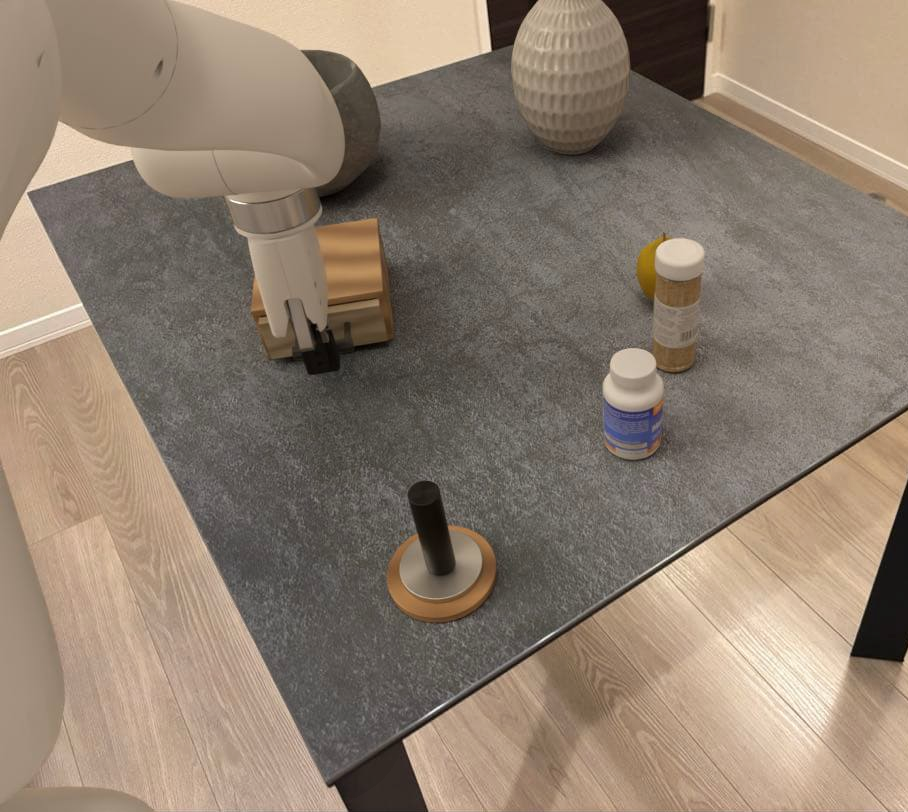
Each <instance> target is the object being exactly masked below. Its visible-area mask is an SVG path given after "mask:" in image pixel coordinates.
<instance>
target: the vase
mask: <svg viewBox="0 0 908 812" xmlns="http://www.w3.org/2000/svg"><path fill="white" fill-rule="evenodd" d="M510 62H511V63H510V64H511V65H510V76H511V86H512V92H513V95H514V98H515V103H516V106H517V108H518V110H519V113H520V116H521V117H522V119H523V121H524V123H526V125H527V127H529V129H530V130H531V132H532V133H533V134H534V135H535V137H537V139H538V140H539V141H540V142H542V144H544V145H545V146H547V148H549V149H550V150H551V151H552V152H555V153H557V154H561V155H565V156H576V155H582V154H586V153H589V152H590V151H592V150H594V149H595V148H596V147H597V146H598V145H599V144H600V143H601V142H602V141H603V140H604V139H605V138H606V137H607V136H608V135H609V133H610V132H611V131H612V130H613V128H614V127H615V125H616V124H617V122H618V120H619V118H620V117H621V114H622V113H623V110H624V108H625V104H626V102H627V98H628V95H629V90H630V84H631V59H630V49H629V45H628V42H627V38H626V36H625V33H624V31H623V28H622V26H621V24H620V22H619V20H618V18H617V17H616V15H615V14H614V12H613V11H612V10H611V9H610V8H609V6H608V5H607V4H606V3H605V2H604V1H603V0H537V1H536V3H535V4H534V5H533V6H532V8H531V9H530V10H529V11H528V12H527V14H526V16H525V17H524V19H523V20H522V22H521V24H520V26H519V29H518V31H517V34H516V36H515V40H514V43H513V48H512V55H511V61H510Z"/></svg>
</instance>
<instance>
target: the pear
mask: <svg viewBox="0 0 908 812" xmlns="http://www.w3.org/2000/svg"><path fill="white" fill-rule="evenodd" d="M666 236H667V234H666V232H665V231H663V232H662V237H659V238H658V237H657V238H656V239H655V240H653V241H651V242H650V243H648V244H647V245H645V246H644V247H643V248H642V249H641V250H640V252H639V254H638V256H637V259H636V278H637V282H638V284H639V287H640V289H641V291H642V292H643V293H644V294H645V295H646V297H647V298H648V299H649V300H650V301H652V302H654V295H655V289H656V269H655V254H656V249H657V247H658V246H659V245H660V244H661V243H663V242H665V241H667V240H670V239H674V238H673V237H666Z"/></svg>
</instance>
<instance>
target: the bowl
mask: <svg viewBox="0 0 908 812" xmlns="http://www.w3.org/2000/svg"><path fill="white" fill-rule="evenodd" d="M299 50H300V51H301V52H302V53H303V54H304V55H305V56H306V57H307V59H308V60H309V61H310V62H311V64H312V65H313V66H314V68H315V69H316V71H317V72H318V74H319V75H320V76H321V78H322V79H323V81H324V83H325V84H326V86H327V87H328V89H329V91H330V93H331V95H332V97H333V99H334V101H335V104H336V106H337V108H338V111H339V114H340V117H341V120H342V124H343V130H344V136H345V152H344V158H343V162H342V165H341V168H340V170H339V172H338V173H337V175H336V176H335V177H334V178H333V179H332V180H331V181H330V182H328V183H326V184H324V185H321V186H318V187H316V188H317V192H318V195H319V198H322V197H326V196H329V195H333V194H336V193H339V192H340V191H342V190H344V189H346V188H347V187H348V186H349V185H350V184H351V183H353V182H354V181H355V180H356V179H357V178H358V177H359V176H360V175H361V174H362V173H364V172H365V171H366V170H367V168H368V167H369V165H370V164H371V162H372V160H373V158H374V156H375V154H376V152H377V149H378V146H379V142H380V137H381V131H382V122H381V121H382V120H381V114H380V110H379V105H378V101H377V98H376V96H375V93H374V90H373V88H372V85H371V83H370V82H369V80H368V78H367V77H366V75H365V74H364V72H363V71H362V69H361V68H360V67H359V66H358V64H357V63H355V62H354V61H353V60H352V59H351V58H350V57H348V56H346V55H345V54H342V53H339V52H334V51H329V50H324V49H299Z"/></svg>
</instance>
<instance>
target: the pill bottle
mask: <svg viewBox="0 0 908 812" xmlns="http://www.w3.org/2000/svg"><path fill="white" fill-rule="evenodd" d="M664 389H665V387H664V382H663V379H662V377H661V376H660V375H659V373H658V369H657V366H656V360H655V358H654V356H653V355H652V352H649V351H648V350H645V349H643V348H639V347H638V348H637V347H628V348H624V349H621V350H619V351H617V352H616V353H614V354H613V356H612V357H611V358H610V362H609V372H608V374H607V375H606V376H605V378H604V380H603V382H602V409H603V411H602V412H603V441H604V445H605V447H606V448H607V450H608V451H609V452H610V453H612V454H613V455H614V456H616V457H618V458H621V459H624V460H630V461H631V460H632V461H635V460H636V461H637V460H642V459H643V460H644V459H646V458H648V457H650V456H652V455H653V454H654V453H655V452H656V451H658V448H659V447H660V445H661V442H662V435H663V434H662V433H663V431H662V429H663V415H664V414H663V413H664V412H663V411H664V393H665V390H664Z"/></svg>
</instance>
